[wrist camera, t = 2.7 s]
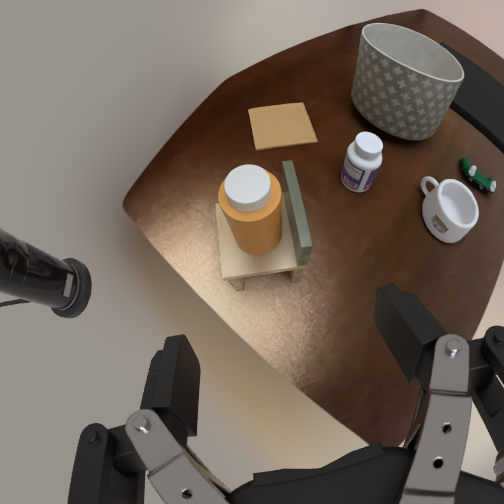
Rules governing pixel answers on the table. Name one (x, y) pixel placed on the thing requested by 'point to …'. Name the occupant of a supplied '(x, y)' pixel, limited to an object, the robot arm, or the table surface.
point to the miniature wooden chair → (283, 255)
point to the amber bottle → (252, 208)
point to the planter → (404, 81)
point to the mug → (449, 209)
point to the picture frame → (480, 100)
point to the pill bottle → (362, 162)
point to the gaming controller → (477, 176)
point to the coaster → (281, 126)
